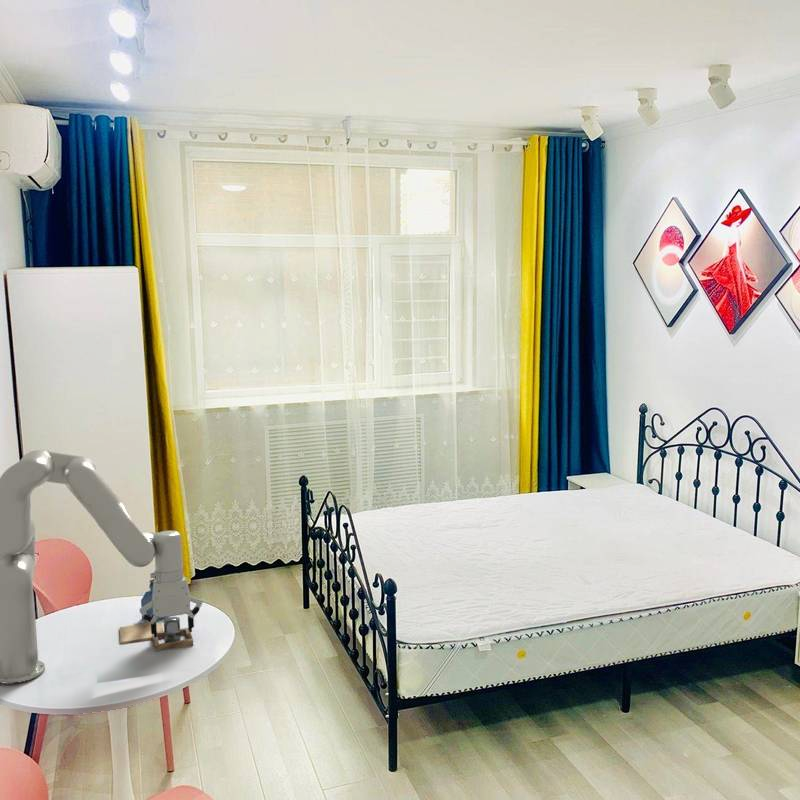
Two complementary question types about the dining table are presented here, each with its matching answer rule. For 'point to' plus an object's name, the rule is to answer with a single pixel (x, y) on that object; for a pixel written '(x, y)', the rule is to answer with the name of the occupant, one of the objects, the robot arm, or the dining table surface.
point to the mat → (138, 632)
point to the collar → (176, 643)
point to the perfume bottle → (149, 600)
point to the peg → (172, 629)
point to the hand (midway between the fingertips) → (172, 633)
